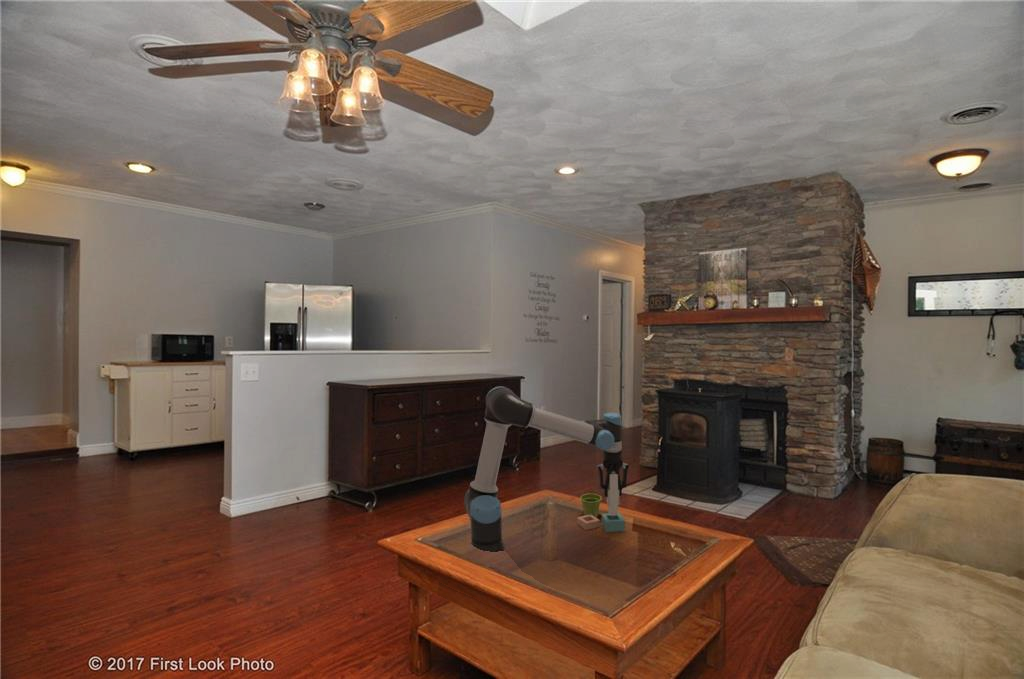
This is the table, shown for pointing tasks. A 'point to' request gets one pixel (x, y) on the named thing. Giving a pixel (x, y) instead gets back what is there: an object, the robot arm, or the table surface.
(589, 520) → the beige square hollow block
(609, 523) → the teal square hollow block
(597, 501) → the plant pot
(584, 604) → the table surface
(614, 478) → the light grey post
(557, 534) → the table surface
